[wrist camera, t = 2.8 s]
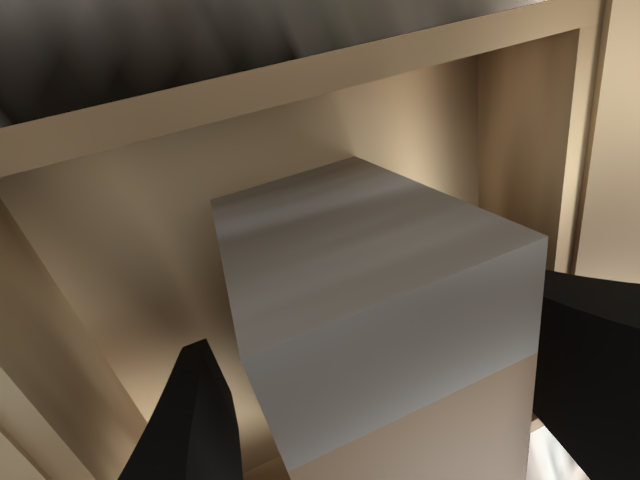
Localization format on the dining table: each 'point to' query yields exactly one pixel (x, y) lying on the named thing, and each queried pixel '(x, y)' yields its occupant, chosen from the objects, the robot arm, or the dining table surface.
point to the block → (384, 324)
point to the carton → (276, 163)
